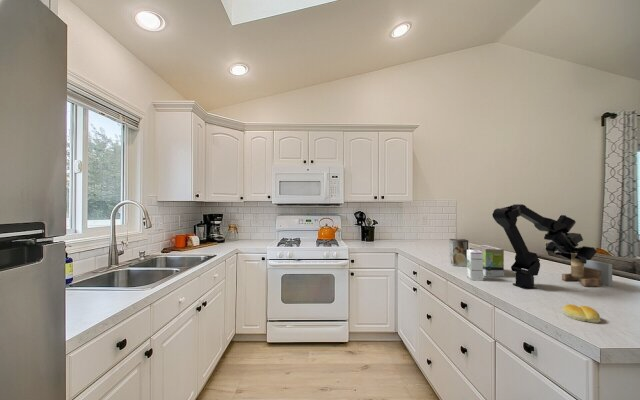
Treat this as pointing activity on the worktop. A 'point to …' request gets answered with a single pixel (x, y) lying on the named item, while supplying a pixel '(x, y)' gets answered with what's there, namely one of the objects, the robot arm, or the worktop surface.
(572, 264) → the dowel
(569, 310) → the bread roll
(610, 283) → the backstop wall
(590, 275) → the cradle
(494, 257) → the tea box
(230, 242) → the worktop surface
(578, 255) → the robot arm
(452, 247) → the coffee box
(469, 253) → the syrup box
